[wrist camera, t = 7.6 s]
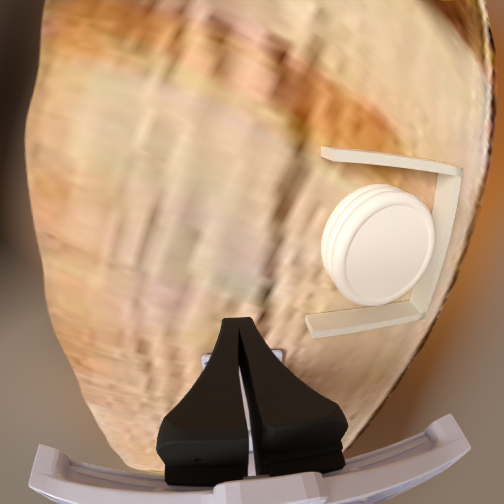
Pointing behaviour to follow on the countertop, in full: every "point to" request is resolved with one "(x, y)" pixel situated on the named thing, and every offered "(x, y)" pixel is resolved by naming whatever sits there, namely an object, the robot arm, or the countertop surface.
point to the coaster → (377, 244)
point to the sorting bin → (426, 285)
